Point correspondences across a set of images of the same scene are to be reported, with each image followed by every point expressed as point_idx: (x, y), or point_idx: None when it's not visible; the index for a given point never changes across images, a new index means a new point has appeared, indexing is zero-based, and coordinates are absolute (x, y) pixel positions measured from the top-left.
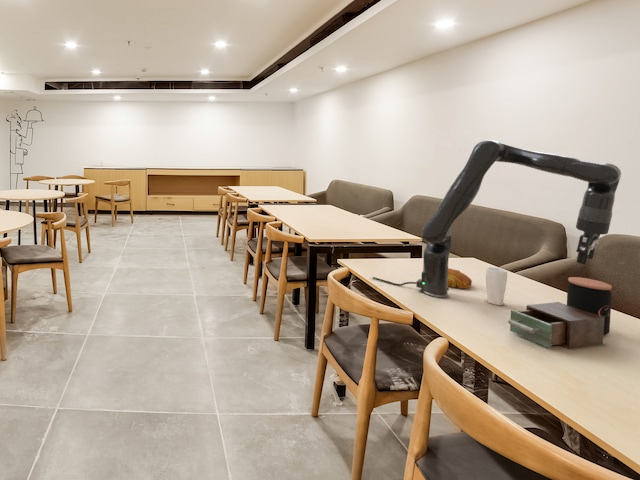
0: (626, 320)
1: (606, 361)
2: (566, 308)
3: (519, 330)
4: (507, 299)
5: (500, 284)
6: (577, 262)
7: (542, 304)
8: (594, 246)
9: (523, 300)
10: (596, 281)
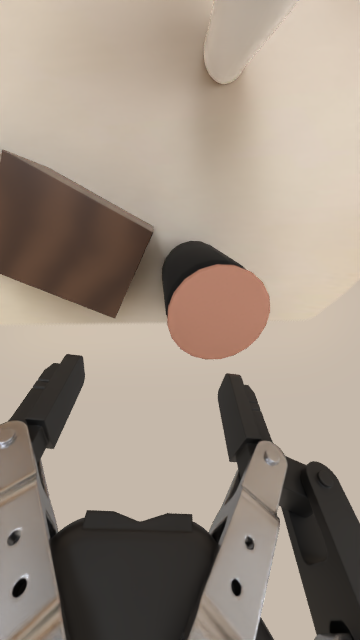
0: (299, 315)
1: (35, 300)
2: (103, 253)
3: None
4: (295, 93)
5: (223, 8)
6: (68, 354)
7: (73, 196)
8: (224, 502)
9: (314, 140)
10: (245, 331)
